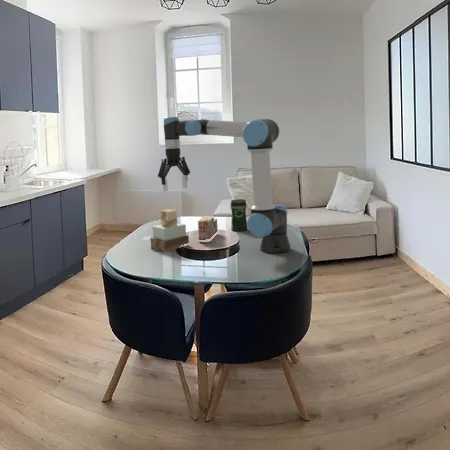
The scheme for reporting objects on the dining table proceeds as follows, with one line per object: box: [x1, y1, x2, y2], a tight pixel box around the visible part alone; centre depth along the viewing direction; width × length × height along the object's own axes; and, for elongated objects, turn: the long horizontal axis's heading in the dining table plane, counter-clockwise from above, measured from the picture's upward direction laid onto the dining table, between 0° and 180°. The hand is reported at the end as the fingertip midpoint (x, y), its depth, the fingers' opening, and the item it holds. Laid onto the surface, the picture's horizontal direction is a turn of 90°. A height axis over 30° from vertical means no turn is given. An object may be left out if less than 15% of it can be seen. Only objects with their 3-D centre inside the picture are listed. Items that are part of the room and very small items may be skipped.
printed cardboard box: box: [197, 216, 219, 241], centre depth 281 cm, size 21×6×12 cm, turn 169°
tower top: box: [152, 222, 187, 240], centre depth 263 cm, size 10×14×6 cm
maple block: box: [159, 208, 178, 227], centre depth 262 cm, size 6×6×8 cm
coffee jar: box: [230, 198, 248, 232], centre depth 298 cm, size 10×8×19 cm
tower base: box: [150, 234, 190, 253], centre depth 264 cm, size 12×16×6 cm
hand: (175, 189), depth 259 cm, fingers open, 13 cm apart
